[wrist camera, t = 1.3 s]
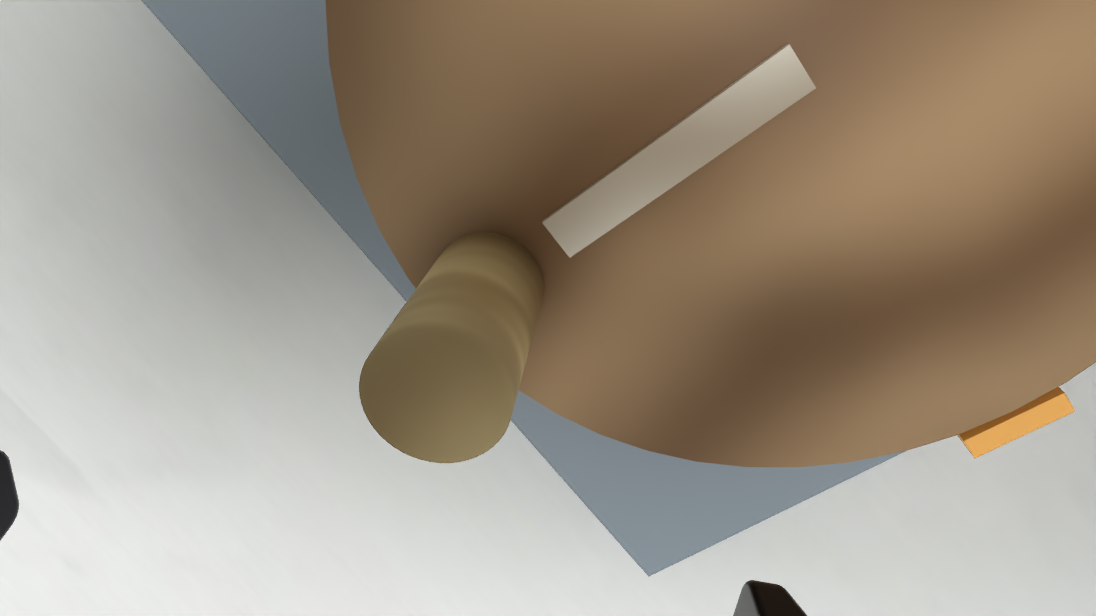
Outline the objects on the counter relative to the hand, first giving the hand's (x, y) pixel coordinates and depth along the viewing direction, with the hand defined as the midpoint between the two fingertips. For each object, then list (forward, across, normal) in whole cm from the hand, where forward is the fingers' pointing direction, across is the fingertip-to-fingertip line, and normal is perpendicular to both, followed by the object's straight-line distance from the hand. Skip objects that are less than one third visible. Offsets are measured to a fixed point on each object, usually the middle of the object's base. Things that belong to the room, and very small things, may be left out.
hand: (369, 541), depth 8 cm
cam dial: (+10, -6, -6) cm, 13 cm away
